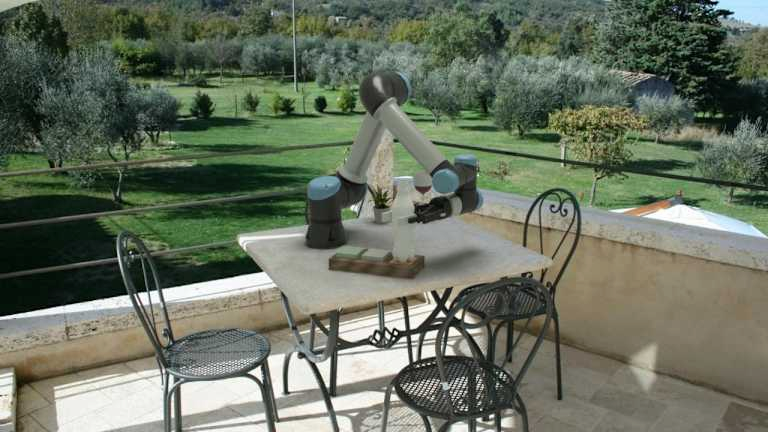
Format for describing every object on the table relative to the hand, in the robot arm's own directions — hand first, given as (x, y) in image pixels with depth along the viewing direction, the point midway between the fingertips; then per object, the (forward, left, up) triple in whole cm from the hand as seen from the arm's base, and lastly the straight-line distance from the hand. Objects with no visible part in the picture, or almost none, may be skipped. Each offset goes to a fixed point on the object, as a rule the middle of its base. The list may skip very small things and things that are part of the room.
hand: (390, 220), depth 186 cm
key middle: (-7, +4, -15) cm, 17 cm away
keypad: (-7, +4, -17) cm, 19 cm away
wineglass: (-9, +61, -18) cm, 64 cm away
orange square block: (+2, +4, -17) cm, 18 cm away
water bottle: (+2, +4, -14) cm, 15 cm away
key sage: (-16, +4, -15) cm, 22 cm away
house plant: (-26, +55, -18) cm, 63 cm away
